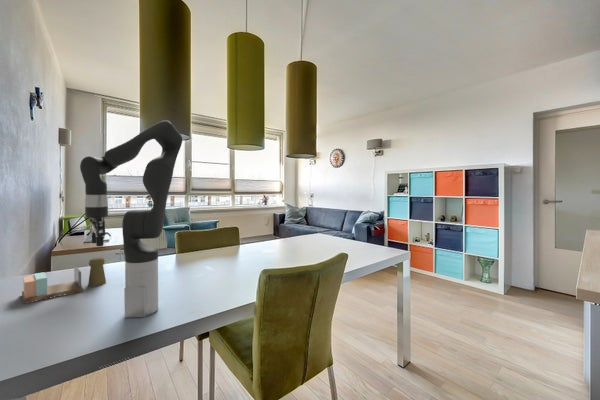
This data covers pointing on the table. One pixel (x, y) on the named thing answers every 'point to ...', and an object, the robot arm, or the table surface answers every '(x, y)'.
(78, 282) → the bookend
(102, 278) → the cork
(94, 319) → the table surface
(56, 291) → the shelf board
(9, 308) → the table surface
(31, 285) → the books
